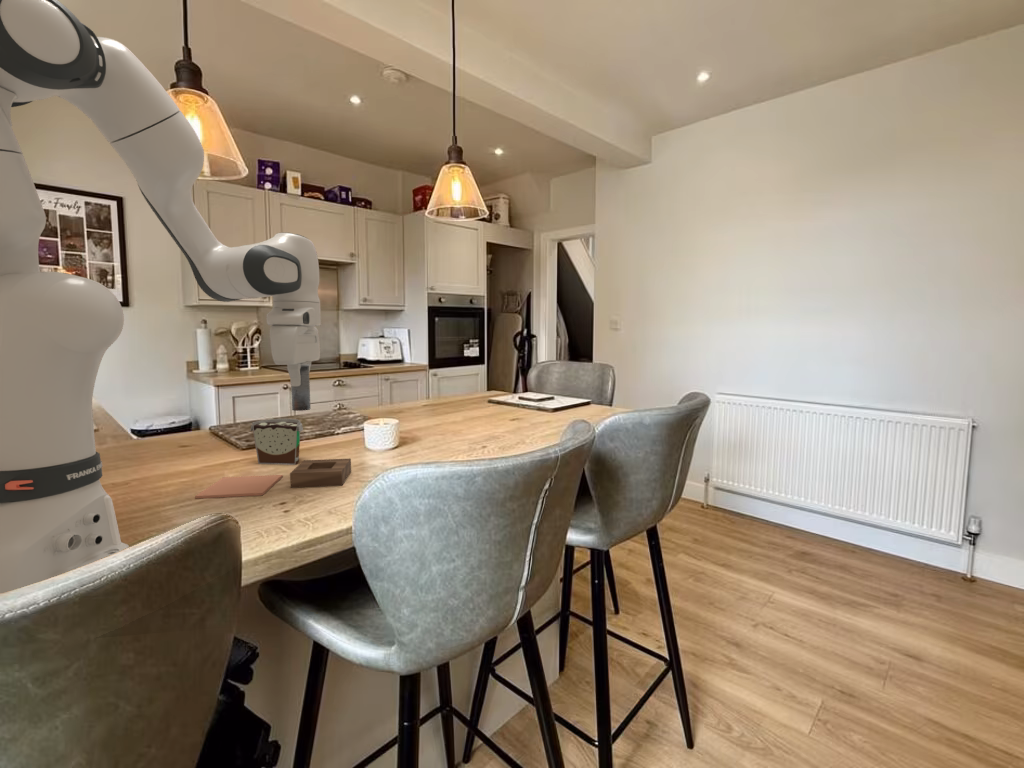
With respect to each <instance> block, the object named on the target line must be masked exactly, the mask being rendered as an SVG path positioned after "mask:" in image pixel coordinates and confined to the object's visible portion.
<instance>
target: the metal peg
mask: <svg viewBox="0 0 1024 768" xmlns="http://www.w3.org/2000/svg"><path fill="white" fill-rule="evenodd" d="M300 365H301V369H300V375H301V377H302V385H300V386H291V385H290V386H291V389H290V391H291V394H290V395H291V410H292V411H294V412H296V411H299V412H303V411H309V410H312V408H311V385H310V384H311V383H310V382H311V381H310V372H309V366H311V367H312V361H306V362H305V363H300Z"/></svg>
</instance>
